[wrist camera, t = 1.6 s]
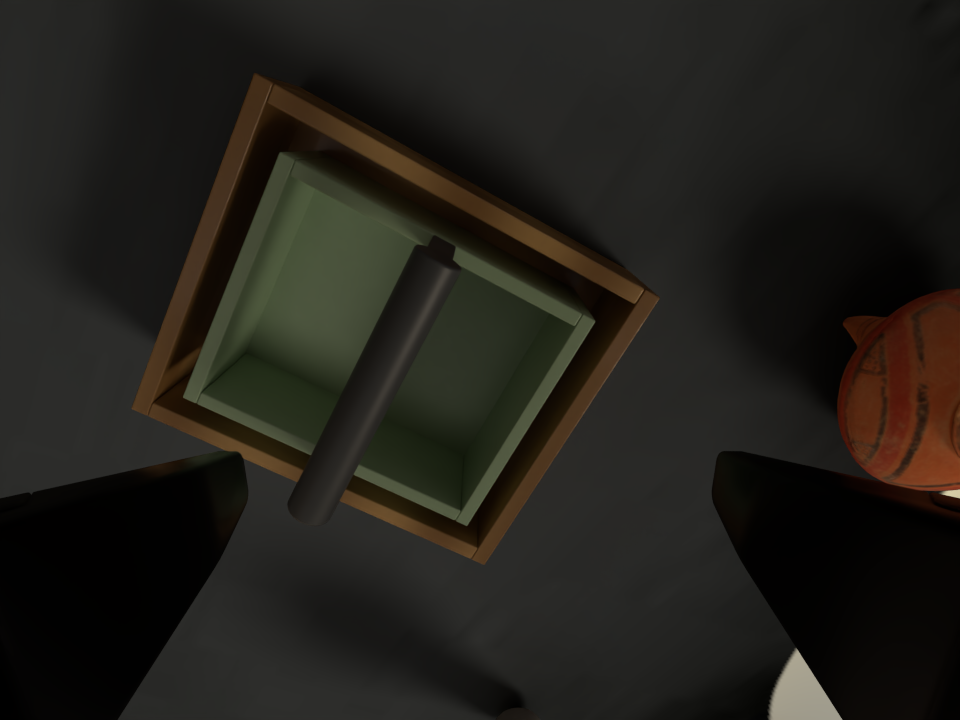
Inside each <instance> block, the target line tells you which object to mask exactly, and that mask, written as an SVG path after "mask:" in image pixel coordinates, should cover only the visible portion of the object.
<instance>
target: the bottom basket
mask: <svg viewBox="0 0 960 720" xmlns="http://www.w3.org/2000/svg"><path fill="white" fill-rule="evenodd" d="M295 151H321V152H323V153H325V154H327V155H329V156H331V157H332V158H334V159H336V160H338V161H340V162H342V163H343V164H345V165H347V166H349V167H351V168H353V169H354V170H356V171H358V172H360V173H362V174H364V175H366V176H367V177H369V178H371V179H373V180H375V181H377V182H378V183H380V184H382V185H384V186H386V187H388V188H390V189H391V190H393V191H395V192H397V193H399V194H401V195H402V196H404V197H406V198H408V199H410V200H412V201H413V202H415V203H417V204H419V205H421V206H423V207H425V208H426V209H428V210H430V211H432V212H434V213H436V214H437V215H439V216H441V217H443V218H445V219H447V220H448V221H450V222H452V223H454V224H456V225H458V226H460V227H461V228H463V229H465V230H467V231H469V232H471V233H472V234H474V235H476V236H478V237H480V238H482V239H483V240H485V241H487V242H489V243H491V244H493V245H495V246H496V247H498V248H500V249H502V250H504V251H506V252H507V253H509V254H511V255H513V256H515V257H517V258H519V259H520V260H522V261H524V262H526V263H528V264H530V265H531V266H533V267H535V268H537V269H539V270H541V271H542V272H544V273H546V274H548V275H550V276H552V277H554V278H555V279H557V280H559V281H561V282H563V283H565V284H566V285H568V286H570V287H572V288H574V289H575V290H576V292H577V293H578V295H579V296H580V298H581V299H582V301H583V303H584V304H585V306H586V307H587V309H588V310H589V312H590V313H591V315H592V317H593V318H594V320H595V323H594V325H593V326H592V328H591V329H590V331H589V333H588V334H587V336H586V337H585V339H584V341H583V342H582V344H581V345H580V347H579V349H578V350H577V352H576V353H575V355H574V356H573V358H572V360H571V361H570V363H569V364H568V366H567V368H566V369H565V371H564V372H563V374H562V376H561V377H560V379H559V380H558V382H557V384H556V385H555V387H554V388H553V390H552V392H551V393H550V395H549V396H548V398H547V399H546V401H545V403H544V404H543V406H542V407H541V409H540V411H539V412H538V414H537V415H536V417H535V419H534V420H533V422H532V423H531V425H530V427H529V428H528V430H527V431H526V433H525V434H524V436H523V438H522V439H521V441H520V442H519V444H518V446H517V447H516V449H515V450H514V452H513V454H512V455H511V457H510V458H509V460H508V462H507V463H506V465H505V466H504V468H503V469H502V471H501V473H500V474H499V476H498V477H497V479H496V481H495V482H494V484H493V485H492V487H491V489H490V490H489V492H488V493H487V495H486V497H485V498H484V500H483V501H482V503H481V505H480V506H479V508H478V509H477V511H476V512H475V514H474V516H473V517H472V519H471V520H470V522H469V524H468V525H467V526H466V525H464V524H461V523H459V522H457V521H456V519H455V520H453V519H451V518H448V517H446V516H444V515H442V514H440V513H437V512H435V511H433V510H431V509H428V508H426V507H424V506H422V505H420V504H417V503H415V502H413V501H411V500H409V499H406V498H404V497H402V496H400V495H398V494H395V493H393V492H391V491H389V490H386V489H384V488H382V487H380V486H378V485H375V484H373V483H371V482H369V481H367V480H364V479H362V478H360V477H358V476H355V475H353V476H352V478H351V480H350V482H349V484H348V486H347V488H346V490H345V492H344V493H343V495H342V497H341V499H340V501H341V502H344V503H346V504H348V505H350V506H353V507H355V508H357V509H359V510H362V511H364V512H366V513H368V514H371V515H373V516H375V517H377V518H380V519H382V520H384V521H386V522H389V523H391V524H393V525H396V526H398V527H400V528H402V529H405V530H407V531H409V532H411V533H414V534H416V535H418V536H420V537H423V538H425V539H427V540H429V541H432V542H434V543H436V544H438V545H441V546H443V547H445V548H447V549H450V550H452V551H454V552H457V553H459V554H461V555H463V556H466V557H468V558H471V559H472V560H474V561H477V562H479V563H481V564H485V563H486V562H487V560H488V558H489V557H490V555H491V554H492V552H493V551H494V549H495V548H496V546H497V545H498V543H499V542H500V540H501V539H502V537H503V536H504V534H505V533H506V531H507V530H508V528H509V527H510V525H511V524H512V522H513V520H514V519H515V517H516V516H517V514H518V513H519V511H520V510H521V508H522V507H523V505H524V504H525V502H526V501H527V499H528V498H529V496H530V495H531V493H532V492H533V490H534V489H535V487H536V486H537V484H538V482H539V481H540V479H541V478H542V476H543V475H544V473H545V472H546V470H547V469H548V467H549V466H550V464H551V463H552V461H553V460H554V458H555V457H556V455H557V454H558V452H559V451H560V449H561V448H562V446H563V444H564V443H565V441H566V440H567V438H568V437H569V435H570V434H571V432H572V431H573V429H574V428H575V426H576V425H577V423H578V422H579V420H580V419H581V417H582V416H583V414H584V413H585V411H586V410H587V408H588V406H589V405H590V403H591V402H592V400H593V399H594V397H595V396H596V394H597V393H598V391H599V390H600V388H601V387H602V385H603V384H604V382H605V381H606V379H607V378H608V376H609V375H610V373H611V372H612V370H613V368H614V367H615V365H616V364H617V362H618V361H619V359H620V358H621V356H622V355H623V353H624V352H625V350H626V349H627V347H628V346H629V344H630V343H631V341H632V340H633V338H634V337H635V335H636V334H637V332H638V330H639V329H640V327H641V326H642V324H643V323H644V321H645V320H646V318H647V317H648V315H649V314H650V312H651V311H652V309H653V308H654V306H655V305H656V303H657V302H658V300H659V296H658V295H656V294H655V293H654V292H653V291H652V290H651V289H649V288H648V287H647V286H646V285H645V284H644V283H642V282H641V281H640V280H639V279H638V278H637V277H635V276H634V275H633V274H632V273H631V272H630V271H628V270H627V269H625V268H623V267H622V266H620V265H618V264H616V263H614V262H613V261H611V260H609V259H607V258H605V257H604V256H602V255H600V254H598V253H596V252H595V251H593V250H591V249H589V248H587V247H586V246H584V245H582V244H580V243H578V242H577V241H575V240H573V239H571V238H570V237H568V236H566V235H564V234H562V233H561V232H559V231H557V230H555V229H553V228H552V227H550V226H548V225H546V224H544V223H543V222H541V221H539V220H537V219H535V218H534V217H532V216H530V215H528V214H527V213H525V212H523V211H521V210H519V209H518V208H516V207H514V206H512V205H510V204H509V203H507V202H505V201H503V200H501V199H500V198H498V197H496V196H494V195H492V194H491V193H489V192H487V191H485V190H484V189H482V188H480V187H478V186H476V185H475V184H473V183H471V182H469V181H467V180H466V179H464V178H462V177H460V176H458V175H457V174H455V173H453V172H451V171H449V170H448V169H446V168H444V167H442V166H441V165H439V164H437V163H435V162H433V161H432V160H430V159H428V158H426V157H424V156H423V155H421V154H419V153H417V152H415V151H414V150H412V149H410V148H408V147H406V146H405V145H403V144H401V143H399V142H397V141H396V140H394V139H392V138H390V137H389V136H387V135H385V134H383V133H381V132H380V131H378V130H376V129H374V128H372V127H371V126H369V125H367V124H365V123H363V122H362V121H360V120H358V119H356V118H354V117H353V116H351V115H349V114H347V113H346V112H344V111H342V110H340V109H338V108H337V107H335V106H333V105H331V104H329V103H328V102H326V101H324V100H322V99H320V98H319V97H317V96H315V95H313V94H312V93H310V92H308V91H306V90H304V89H303V88H301V87H298V86H295V85H292V84H289V83H286V82H283V81H279V80H276V79H273V78H270V77H267V76H264V75H260V74H257V73H254V75H253V77H252V80H251V83H250V86H249V88H248V91H247V94H246V97H245V99H244V102H243V105H242V107H241V110H240V113H239V116H238V118H237V121H236V124H235V127H234V129H233V132H232V135H231V137H230V140H229V143H228V146H227V148H226V151H225V154H224V157H223V159H222V162H221V165H220V168H219V170H218V173H217V176H216V178H215V181H214V184H213V187H212V189H211V192H210V195H209V198H208V200H207V203H206V206H205V209H204V211H203V214H202V217H201V219H200V222H199V225H198V228H197V230H196V233H195V236H194V239H193V241H192V244H191V247H190V249H189V252H188V255H187V258H186V260H185V263H184V266H183V269H182V271H181V274H180V277H179V280H178V282H177V285H176V288H175V290H174V293H173V296H172V299H171V301H170V304H169V307H168V310H167V312H166V315H165V318H164V321H163V323H162V326H161V329H160V331H159V334H158V337H157V340H156V342H155V345H154V348H153V351H152V353H151V356H150V359H149V361H148V364H147V367H146V370H145V372H144V375H143V378H142V381H141V383H140V386H139V389H138V392H137V394H136V397H135V400H134V402H133V405H132V409H133V410H135V411H138V412H140V413H142V414H144V415H148V416H149V417H151V418H154V419H156V420H158V421H160V422H163V423H165V424H167V425H170V426H172V427H174V428H176V429H179V430H181V431H183V432H185V433H188V434H190V435H192V436H194V437H197V438H199V439H201V440H203V441H206V442H208V443H210V444H212V445H215V446H217V447H219V448H221V449H224V450H226V451H238V452H239V453H241V455H242V457H243V458H244V459H246V460H249V461H251V462H253V463H255V464H258V465H260V466H262V467H264V468H267V469H269V470H271V471H273V472H276V473H278V474H280V475H283V476H285V477H287V478H289V479H292V480H294V481H296V482H298V480H299V478H300V476H301V474H302V472H303V470H304V468H305V466H306V464H307V462H308V460H309V458H310V456H311V455H309V454H307V453H305V452H302V451H300V450H298V449H296V448H294V447H291V446H289V445H287V444H285V443H282V442H280V441H278V440H276V439H274V438H271V437H269V436H267V435H265V434H263V433H260V432H258V431H256V430H254V429H252V428H249V427H247V426H245V425H243V424H240V423H238V422H236V421H234V420H232V419H229V418H227V417H225V416H223V415H221V414H218V413H216V412H214V411H212V410H209V409H207V408H205V407H203V406H201V405H198V404H197V403H194V402H192V401H189V400H187V399H185V398H183V395H184V392H185V390H186V387H187V385H188V382H189V380H190V377H191V375H192V372H193V370H194V367H195V365H196V362H197V359H198V357H199V354H200V352H201V349H202V347H203V344H204V342H205V339H206V337H207V334H208V332H209V329H210V327H211V324H212V322H213V319H214V317H215V314H216V311H217V309H218V306H219V304H220V301H221V299H222V296H223V294H224V291H225V289H226V286H227V284H228V281H229V279H230V276H231V274H232V271H233V269H234V266H235V264H236V261H237V258H238V256H239V253H240V251H241V248H242V246H243V243H244V241H245V238H246V236H247V233H248V231H249V228H250V226H251V223H252V221H253V218H254V216H255V213H256V210H257V208H258V205H259V203H260V200H261V198H262V195H263V193H264V190H265V188H266V185H267V183H268V180H269V178H270V175H271V173H272V170H273V168H274V165H275V163H276V160H277V157H278V155H279V153H280V152H295Z"/></svg>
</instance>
